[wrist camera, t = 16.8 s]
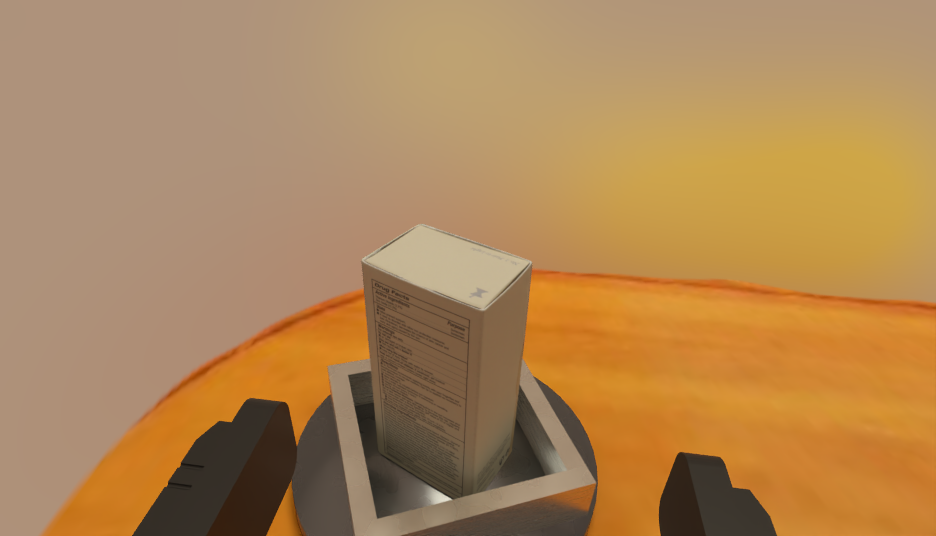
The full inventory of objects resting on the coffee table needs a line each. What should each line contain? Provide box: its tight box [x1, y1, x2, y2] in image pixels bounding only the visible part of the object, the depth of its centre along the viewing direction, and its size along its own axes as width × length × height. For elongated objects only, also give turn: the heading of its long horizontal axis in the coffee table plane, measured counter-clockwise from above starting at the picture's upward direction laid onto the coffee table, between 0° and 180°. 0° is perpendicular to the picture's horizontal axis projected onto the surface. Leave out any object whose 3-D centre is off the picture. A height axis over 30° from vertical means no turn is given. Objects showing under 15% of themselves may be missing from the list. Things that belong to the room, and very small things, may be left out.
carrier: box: [292, 358, 598, 536], centre depth 29 cm, size 16×16×4 cm
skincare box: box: [362, 224, 532, 499], centre depth 26 cm, size 6×4×12 cm
